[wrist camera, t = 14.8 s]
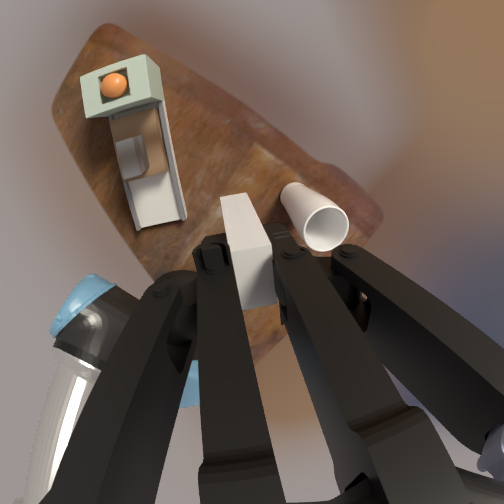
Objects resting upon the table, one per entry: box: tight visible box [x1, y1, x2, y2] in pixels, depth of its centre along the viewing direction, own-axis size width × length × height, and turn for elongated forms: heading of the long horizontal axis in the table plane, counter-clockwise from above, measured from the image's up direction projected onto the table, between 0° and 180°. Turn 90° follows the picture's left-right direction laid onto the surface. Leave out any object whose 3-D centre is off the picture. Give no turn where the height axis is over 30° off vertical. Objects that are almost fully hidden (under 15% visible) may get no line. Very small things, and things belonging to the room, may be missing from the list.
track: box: [108, 101, 187, 231], centre depth 40 cm, size 20×9×2 cm, turn 7°
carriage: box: [110, 108, 169, 183], centre depth 34 cm, size 10×7×9 cm
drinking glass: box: [280, 182, 349, 252], centre depth 42 cm, size 7×7×15 cm
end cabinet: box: [80, 54, 165, 118], centre depth 30 cm, size 6×9×11 cm, turn 98°
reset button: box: [101, 73, 129, 98], centre depth 26 cm, size 3×3×2 cm
